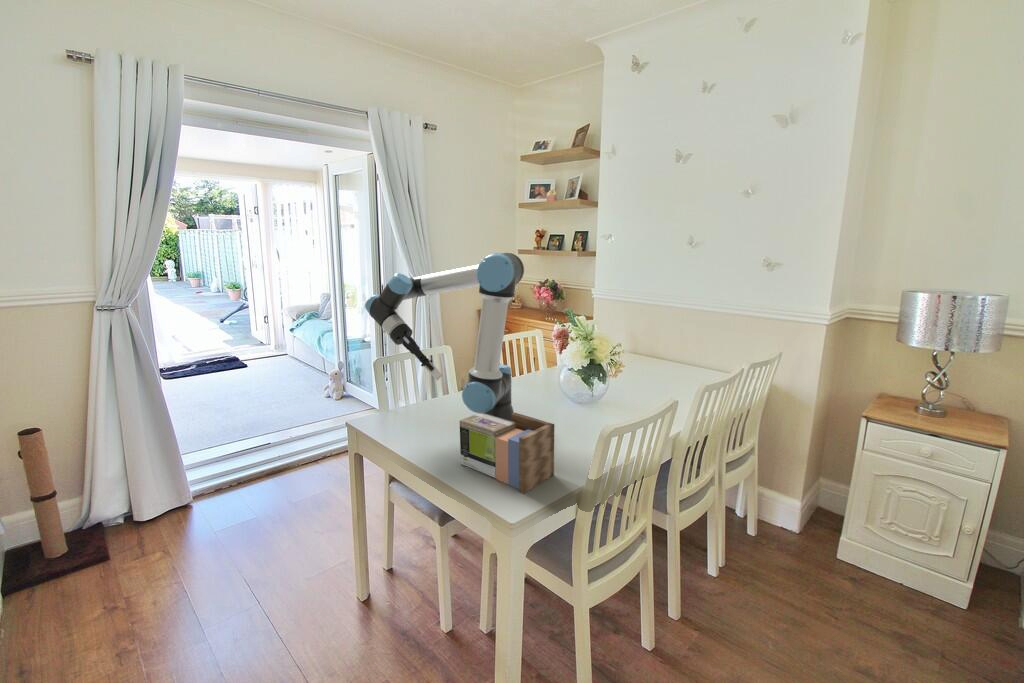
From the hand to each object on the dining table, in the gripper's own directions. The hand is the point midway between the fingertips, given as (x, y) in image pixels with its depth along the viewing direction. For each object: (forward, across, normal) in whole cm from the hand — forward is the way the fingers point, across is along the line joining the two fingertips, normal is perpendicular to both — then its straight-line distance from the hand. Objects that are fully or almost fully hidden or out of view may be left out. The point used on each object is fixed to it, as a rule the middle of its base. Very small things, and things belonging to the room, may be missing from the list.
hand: (439, 377), depth 161 cm
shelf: (+43, +9, -1) cm, 44 cm away
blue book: (+45, +12, -1) cm, 46 cm away
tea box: (+34, +4, -7) cm, 35 cm away
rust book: (+41, +9, -3) cm, 43 cm away
